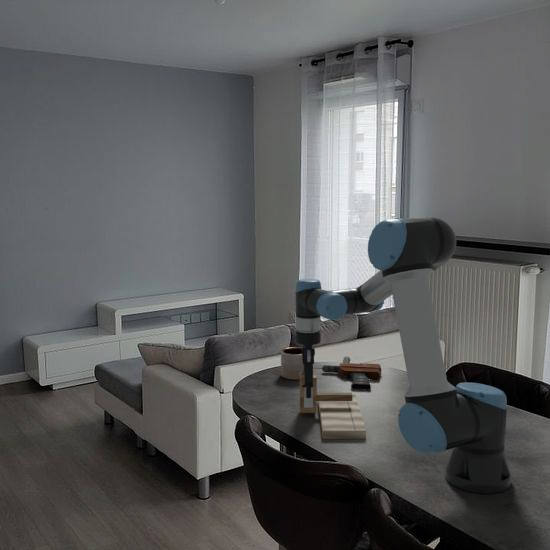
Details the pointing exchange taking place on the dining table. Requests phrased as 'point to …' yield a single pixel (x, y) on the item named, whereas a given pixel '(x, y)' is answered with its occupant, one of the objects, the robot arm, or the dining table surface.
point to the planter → (291, 363)
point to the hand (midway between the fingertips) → (308, 403)
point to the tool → (356, 372)
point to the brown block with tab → (319, 395)
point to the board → (341, 420)
